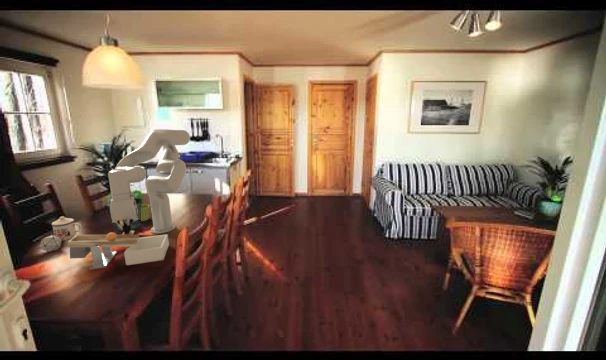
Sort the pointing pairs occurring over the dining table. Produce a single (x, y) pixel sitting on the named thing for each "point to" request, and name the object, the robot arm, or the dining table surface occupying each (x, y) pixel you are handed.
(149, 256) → the bin
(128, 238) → the lever
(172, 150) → the robot arm
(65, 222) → the teacup with lid
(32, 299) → the dining table surface
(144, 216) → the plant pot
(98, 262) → the lever stand
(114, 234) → the ball
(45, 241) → the game die
